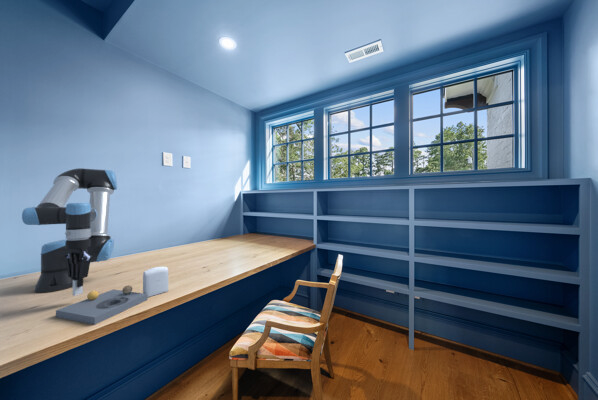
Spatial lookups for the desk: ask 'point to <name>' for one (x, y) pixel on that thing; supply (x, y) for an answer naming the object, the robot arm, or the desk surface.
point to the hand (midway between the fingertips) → (77, 294)
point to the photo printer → (155, 281)
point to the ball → (92, 295)
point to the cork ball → (127, 289)
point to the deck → (101, 306)
